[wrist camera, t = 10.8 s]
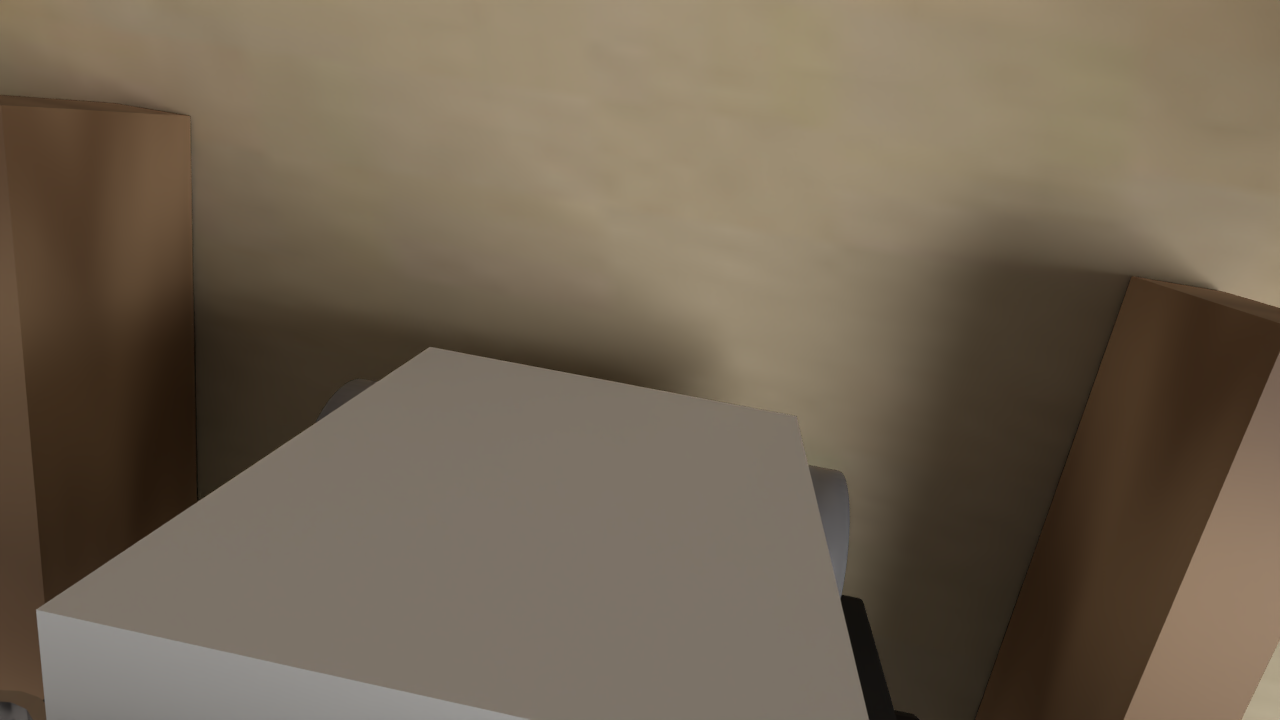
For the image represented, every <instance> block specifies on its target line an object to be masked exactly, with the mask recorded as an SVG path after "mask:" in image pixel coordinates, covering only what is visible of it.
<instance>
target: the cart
mask: <svg viewBox="0 0 1280 720" xmlns="http://www.w3.org/2000/svg"><path fill="white" fill-rule="evenodd" d="M849 527H850V509H849V494H848V488H847V483H846V480H845V477H844V475H843V474H842V472H840V471H837V470H832V469H827V468H821V467H816V466H811V465H808V462H807V458H806V454H805V449H804V445H803V441H802V437H801V433H800V428H799V424H798V420H797V416H794V415H788V414H783V413H778V412H772V411H767V410H762V409H757V408H751V407H746V406H741V405H735V404H730V403H725V402H720V401H714V400H709V399H704V398H698V397H693V396H688V395H682V394H677V393H672V392H667V391H661V390H656V389H651V388H645V387H640V386H635V385H629V384H624V383H619V382H614V381H608V380H603V379H598V378H592V377H587V376H582V375H577V374H571V373H566V372H561V371H555V370H550V369H545V368H539V367H534V366H529V365H524V364H518V363H513V362H508V361H502V360H497V359H492V358H486V357H481V356H476V355H471V354H465V353H460V352H455V351H449V350H444V349H439V348H434V347H429V348H427V349H426V350H424V351H423V352H421V353H420V354H418V355H417V356H415V357H414V358H412V359H411V360H409V361H408V362H406V363H405V364H403V365H402V366H400V367H399V368H397V369H396V370H394V371H393V372H391V373H390V374H388V375H387V376H385V377H384V378H382V379H381V380H379V381H378V382H376V381H371V380H366V379H355V380H352V381H350V382H348V383H346V384H345V385H343V386H342V387H341V388H340V389H339V390H338V391H337V392H336V393H335V394H334V395H333V396H332V397H331V398H330V400H329V401H328V402H327V404H326V405H325V407H324V408H323V410H322V411H321V413H320V415H319V417H318V418H317V420H316V422H315V424H313V425H312V426H310V427H309V428H307V429H306V430H304V431H303V432H301V433H300V434H298V435H297V436H295V437H294V438H292V439H291V440H289V441H288V442H286V443H285V444H283V445H282V446H280V447H279V448H277V449H276V450H274V451H273V452H271V453H270V454H269V455H267V456H266V457H264V458H263V459H261V460H260V461H258V462H257V463H255V464H254V465H252V466H251V467H249V468H248V469H246V470H245V471H243V472H242V473H240V474H239V475H237V476H236V477H234V478H233V479H231V480H230V481H228V482H227V483H225V484H224V485H222V486H221V487H219V488H218V489H216V490H215V491H213V492H212V493H210V494H209V495H207V496H206V497H204V498H203V499H201V500H200V501H198V502H197V503H195V504H194V505H192V506H191V507H189V508H188V509H186V510H185V511H183V512H182V513H180V514H179V515H177V516H176V517H174V518H173V519H171V520H170V521H168V522H167V523H165V524H164V525H162V526H161V527H159V528H158V529H156V530H155V531H153V532H152V533H150V534H149V535H147V536H146V537H144V538H143V539H141V540H140V541H138V542H137V543H135V544H134V545H132V546H131V547H129V548H128V549H126V550H125V551H123V552H122V553H120V554H119V555H117V556H116V557H114V558H113V559H111V560H110V561H108V562H107V563H105V564H104V565H102V566H101V567H99V568H98V569H96V570H95V571H93V572H92V573H90V574H89V575H87V576H86V577H84V578H83V579H81V580H80V581H78V582H77V583H75V584H74V585H72V586H71V587H69V588H68V589H66V590H65V591H63V592H62V593H60V594H59V595H57V596H56V597H54V598H53V599H51V600H50V601H48V602H47V603H45V604H44V605H42V606H41V607H39V608H38V609H36V615H37V625H38V636H39V646H40V657H41V667H42V678H43V688H44V699H45V710H46V720H869V718H868V714H867V709H866V705H865V701H864V697H863V693H862V689H861V684H860V680H859V676H858V672H857V668H856V663H855V659H854V655H853V651H852V647H851V642H850V638H849V634H848V630H847V626H846V621H845V617H844V613H843V609H842V605H841V595H842V590H843V584H844V578H845V571H846V564H847V555H848V544H849Z"/></svg>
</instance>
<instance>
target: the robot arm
mask: <svg viewBox="0 0 1280 720" xmlns="http://www.w3.org/2000/svg"><path fill="white" fill-rule="evenodd" d="M841 605H842V609H843V613H844V617H845V621H846V626H847V630H848V634H849V638H850V642H851V647H852V651H853V655H854V659H855V663H856V668H857V672H858V676H859V680H860V684H861V689H862V693H863V697H864V701H865V705H866V709H867V714H868V718H869V720H919V719H918V718H917V717H916V716H915V715H914V714H910V713H905V712H900V711H896V710H894V708H893V705H892V701H891V698H890V694H889V691H888V687H887V684H886V680H885V677H884V673H883V670H882V666H881V663H880V659H879V656H878V652H877V649H876V645H875V642H874V638H873V635H872V631H871V628H870V624H869V621H868V617H867V613H866V610H865V606H864V603H863V601H862V600H861V599H859V598H854V597H850V596H845V595H841ZM0 720H46V710H45V699H44V700H42V699H40V698H39V697H37V696H34V695H31V694H28V693H25V692H22V691H9V690H0Z"/></svg>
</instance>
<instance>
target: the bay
mask: <svg viewBox="0 0 1280 720" xmlns="http://www.w3.org/2000/svg"><path fill="white" fill-rule="evenodd" d="M195 503H197V474H196V416H195V359H194V301H193V244H192V186H191V128H190V116H187V115H181V114H175V113H169V112H163V111H157V110H152V109H146V108H140V107H134V106H128V105H122V104H116V103H105V102H91V101H77V100H63V99H49V98H35V97H21V96H8V95H0V690H9V691H22V692H25V693H28V694H31V695H34V696H37V697H39V698H40V699H42V700H44V688H43V678H42V667H41V657H40V646H39V636H38V625H37V615H36V609H38V608H39V607H41V606H42V605H44V604H45V603H47V602H48V601H50V600H51V599H53V598H54V597H56V596H57V595H59V594H60V593H62V592H63V591H65V590H66V589H68V588H69V587H71V586H72V585H74V584H75V583H77V582H78V581H80V580H81V579H83V578H84V577H86V576H87V575H89V574H90V573H92V572H93V571H95V570H96V569H98V568H99V567H101V566H102V565H104V564H105V563H107V562H108V561H110V560H111V559H113V558H114V557H116V556H117V555H119V554H120V553H122V552H123V551H125V550H126V549H128V548H129V547H131V546H132V545H134V544H135V543H137V542H138V541H140V540H141V539H143V538H144V537H146V536H147V535H149V534H150V533H152V532H153V531H155V530H156V529H158V528H159V527H161V526H162V525H164V524H165V523H167V522H168V521H170V520H171V519H173V518H174V517H176V516H177V515H179V514H180V513H182V512H183V511H185V510H186V509H188V508H189V507H191V506H192V505H194V504H195ZM1279 640H1280V308H1278V307H1274V306H1271V305H1267V304H1264V303H1260V302H1257V301H1254V300H1250V299H1247V298H1243V297H1240V296H1236V295H1233V294H1230V293H1226V292H1223V291H1217V290H1211V289H1205V288H1199V287H1193V286H1187V285H1181V284H1175V283H1170V282H1164V281H1158V280H1152V279H1146V278H1140V277H1134V276H1132V277H1131V280H1130V283H1129V286H1128V288H1127V291H1126V294H1125V297H1124V300H1123V303H1122V305H1121V308H1120V311H1119V314H1118V317H1117V320H1116V322H1115V325H1114V328H1113V331H1112V334H1111V337H1110V339H1109V342H1108V345H1107V348H1106V351H1105V354H1104V356H1103V359H1102V362H1101V365H1100V368H1099V371H1098V373H1097V376H1096V379H1095V382H1094V385H1093V388H1092V390H1091V393H1090V396H1089V399H1088V402H1087V405H1086V407H1085V410H1084V413H1083V416H1082V419H1081V422H1080V424H1079V427H1078V430H1077V433H1076V436H1075V439H1074V441H1073V444H1072V447H1071V450H1070V453H1069V455H1068V458H1067V461H1066V464H1065V467H1064V470H1063V472H1062V475H1061V478H1060V481H1059V484H1058V487H1057V489H1056V492H1055V495H1054V498H1053V501H1052V504H1051V506H1050V509H1049V512H1048V515H1047V518H1046V521H1045V523H1044V526H1043V529H1042V532H1041V535H1040V538H1039V540H1038V543H1037V546H1036V549H1035V552H1034V555H1033V557H1032V560H1031V563H1030V566H1029V569H1028V572H1027V574H1026V577H1025V580H1024V583H1023V586H1022V589H1021V591H1020V594H1019V597H1018V600H1017V603H1016V605H1015V608H1014V611H1013V614H1012V617H1011V620H1010V622H1009V625H1008V628H1007V631H1006V634H1005V637H1004V639H1003V642H1002V645H1001V648H1000V651H999V654H998V656H997V659H996V662H995V665H994V668H993V671H992V673H991V676H990V679H989V682H988V685H987V688H986V690H985V693H984V696H983V699H982V702H981V705H980V707H979V710H978V713H977V716H976V719H975V720H1241V719H1242V717H1243V715H1244V713H1245V711H1246V709H1247V707H1248V705H1249V703H1250V701H1251V699H1252V696H1253V694H1254V692H1255V690H1256V688H1257V686H1258V684H1259V682H1260V680H1261V678H1262V676H1263V674H1264V671H1265V669H1266V667H1267V665H1268V663H1269V661H1270V659H1271V657H1272V655H1273V653H1274V651H1275V649H1276V646H1277V644H1278V642H1279Z"/></svg>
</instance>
